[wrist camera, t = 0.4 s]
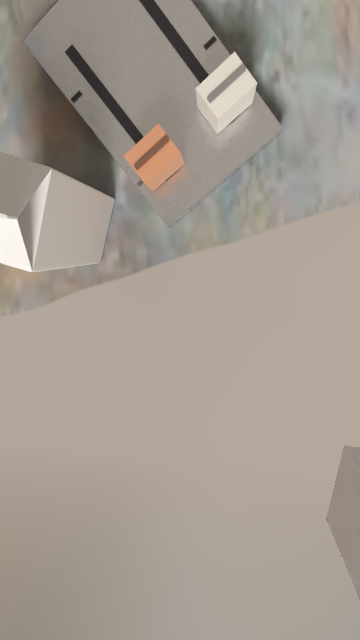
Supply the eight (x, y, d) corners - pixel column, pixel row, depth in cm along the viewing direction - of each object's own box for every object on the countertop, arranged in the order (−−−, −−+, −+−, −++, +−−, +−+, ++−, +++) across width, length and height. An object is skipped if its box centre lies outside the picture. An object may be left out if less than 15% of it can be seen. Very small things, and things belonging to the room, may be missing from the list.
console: (32, 52, 35) (21, 40, 33) (137, -63, 32) (131, -84, 30) (170, 227, 37) (167, 226, 35) (279, 135, 34) (283, 127, 32)
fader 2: (197, 107, 32) (195, 86, 28) (232, 75, 31) (234, 49, 27) (217, 134, 32) (217, 117, 28) (251, 103, 32) (257, 81, 27)
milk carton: (53, 180, 37) (-107, 114, 19) (116, 198, 37) (17, 150, 18) (41, 245, 39) (-118, 243, 20) (101, 263, 38) (-4, 278, 20)
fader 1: (133, 166, 34) (122, 155, 30) (164, 137, 33) (157, 121, 29) (153, 191, 34) (144, 183, 30) (184, 163, 33) (180, 151, 29)
